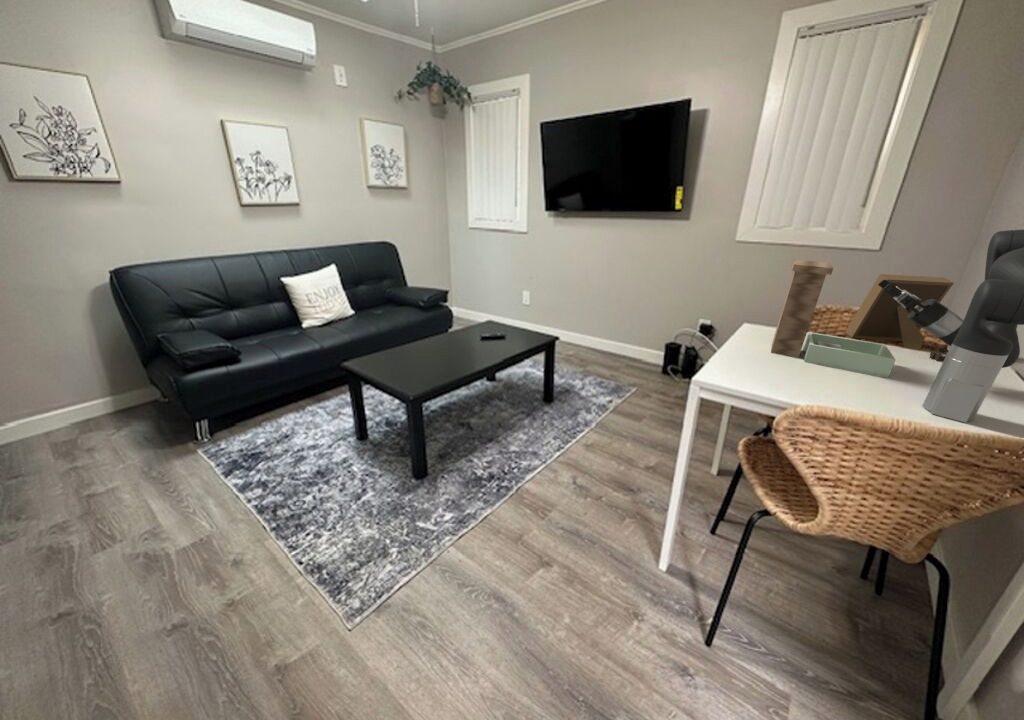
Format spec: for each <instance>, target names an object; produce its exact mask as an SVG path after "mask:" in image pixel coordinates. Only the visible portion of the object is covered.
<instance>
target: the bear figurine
mask: <svg viewBox="0 0 1024 720" xmlns="http://www.w3.org/2000/svg"><path fill="white" fill-rule="evenodd" d="M938 349H939V351H941V352H943V353H946V354H947V353H948V351H949V349H947V347H944V348H942V347H939V348H938ZM945 357H946V355H943V354H942V353H938V352H937V351H930V353H929V359H930V358H931V360H934V361H935V360H936V362H943V361H944V359H945Z"/></svg>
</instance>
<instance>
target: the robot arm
mask: <svg viewBox="0 0 1024 720" xmlns="http://www.w3.org/2000/svg"><path fill="white" fill-rule="evenodd" d="M986 252H987V253H986V258H985V259H986V261H985V270H984V271H985V272H984V280H983V281H982V282H981V283H980V284H979V285H978V286H977V288H976V290H975V292H974V294H973V296H972V298H971V301H970V303H969V305H968V309H967V312H966V314H965V316H964V319H963V318H962V317H961V316H960V315H958V314H957V313H956V312H954V311H953V310H951V309H950V308H948V307H947V306H945V305H944V304H942V303H941V302H940V303H939V302H938V301H936V300H935V299H929V300H926V301H925V302H923V303H920V302H919V301H921V299H920V298H918V297H917V296H915V295H912V294H910V293H909V292H907V291H906V290H901V289H900V288H899V287H896V286H894V285H893V284H891V283H890V282H888V281H887V280H885V279H884V280H882V281H881V282H880V283H879V284H878V285H879V286H880V287H882V288H883V289H884V291H886V292H887V293H889V294H890V295H892V296H893V298H894V299H895V300H896V301H898V303H900V304H901V305H902V306H903V307H904V308H905V309H907V310H909V309H911V310H912V311H911V312H910V313H909V314H908V319H909V320H911V321H912V322H914V323H915V324H917V325H918V326H920V327H921V329H922V330H924V331H926V332H927V333H928V334H930V335H933V336H934V337H936V338H937V339H939V340H940V341H942V342H943V343H945V344H947V345H948V346H949V347H950V348H949V349H948V350H949V351H948V353H946V355H945V356H946V357H945V359H944V361H942V363H941V365H940V368H939V369H938V372H937V374H936V376H935V378H934V380H933V382H932V385H931V387H930V388H929V390H928V392H927V395H926V397H925V399H924V401H923V403H922V407H923V408H924V410H927V411H928V412H930V414H932V415H936V416H939V417H943V418H947V419H950V420H955V421H958V422H962V423H965V424H966V423H967V422H971V421H974V419H975V418H976V415H977V414H978V412H979V410H980V409H981V407H982V405H983V402H984V401H985V399H986V397H987V395H989V394H988V393H989V392H990V390H991V388H992V386H993V384H994V383H995V381H996V379H997V377H998V376H999V374H1000V371H1001V370H1002V369H1005V368H1008V367H1011V366H1013V365H1014V364H1016V362H1017V360H1018V359H1019V357H1020V353H1021V348H1020V342H1019V335H1018V331H1017V330H1018V329H1017V328H1018V326H1019V325H1024V229H1010V230H1008V229H1007V230H1000V231H996V232H995V233H994V234H992V236H991V238H990V240H989V243H988V247H987V251H986Z"/></svg>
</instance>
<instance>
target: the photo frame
mask: <svg viewBox="0 0 1024 720" xmlns="http://www.w3.org/2000/svg"><path fill="white" fill-rule="evenodd" d="M884 279H885V280H887V281H888V282H890V283H891V284H893V285H894V286H896V287H899V288H900V289H901V290H906V291H907V292H909V293H910V294H912V295H915V296H917V297H918V298H920V299H921V301H919V302H920V303H923V302H925V301H926V300H929V299H935V300H936V301H938V302H939V303H941V302H942V301H943V299H944V298H945V296H946V295H947V293H948V292H949V291H950V290H951V288H952V287H953V285H954V284H955V282H953V281H951V280H950V279H948V278H946V277H941V276H940V277H939V276H921V275H919V276H918V275H916V276H915V275H903V274H902V275H901V274H882V273H881V274H880V273H879V275H878V276H877V278H876V279H875V282H874V283H873V284H872V286H871V288H870V290H869V291H868V293H867V295H866V296H865V299H864V300H863V302H862V303H861V305H860V306H859V308H858V310H857V312H856V313H855V315H854V316H853V318H852V320H851V322H850V323H849V325H848V326H847V328H846V329H845V333H846V334H847V335H848V336H849V337H850V339H862V340H877V341H878V340H880V341H892V342H894V341H895V342H902V345H903V348H905V349H910V350H917V351H921V349H922V346H923V344H924V341H925V337H924V335H923V334H922V332H921V330H922V328H921V327H920V326H918V325H917V324H915V323H914V322H912V321H911V320H909V319H908V314H909V313H910V312H911V311H912V310H911V309H909V310H907V309H905V308H904V307H903V306H902V305H901V304H900V303H898V301H896V300H895V299H894V298H893V296H892V295H890V294H889V293H887V292H886V291H884V289H883V288H882V287H880V286H879V285H878V284H879V283H880V282H881V281H882V280H884Z"/></svg>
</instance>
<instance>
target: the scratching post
mask: <svg viewBox="0 0 1024 720" xmlns="http://www.w3.org/2000/svg"><path fill="white" fill-rule="evenodd" d="M833 270H834V267H833V266H832V264H831V263H830V262H827V261H826V262H824V261H814V260H803V259H795V258H794V259H792V262H791V272H792V273H793V274H792V276H791V280H790V283H789V286H788V290H787V292H786V297H785V299H784V303H783V306H782V308H781V313H780V316H779V320H778V322H777V326H776V329H775V332H774V335H773V338H772V339H773V340H772V343H771V348H770V353H772V354H775V355H781V356H786V357H792V358H797V359H799V358H800V354H801V352H802V350H803V346H804V343H805V340H806V337H807V334H808V332H809V328H810V325H811V321H812V319H813V316H814V313H815V309H816V308H817V303H818V301H819V297H820V295H821V292H822V288H823V285H824V282H825V279H826V276H828V275H829V276H831V275H832V273H833Z"/></svg>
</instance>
